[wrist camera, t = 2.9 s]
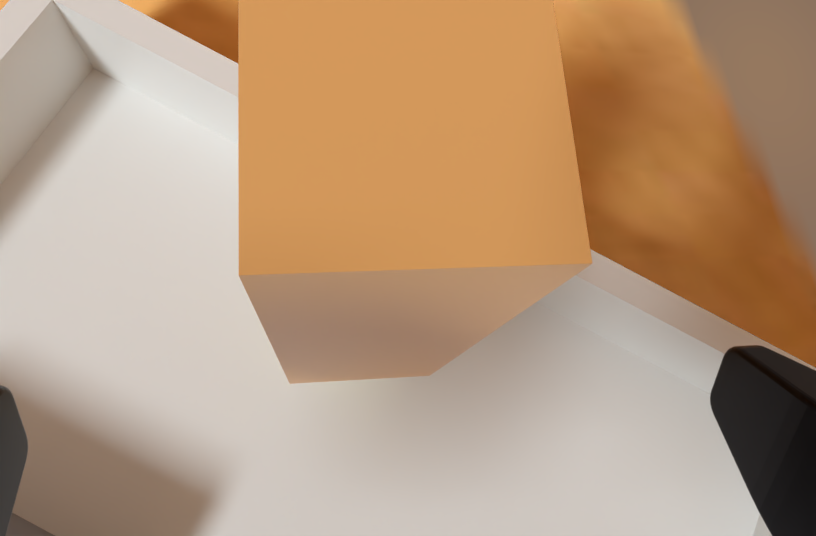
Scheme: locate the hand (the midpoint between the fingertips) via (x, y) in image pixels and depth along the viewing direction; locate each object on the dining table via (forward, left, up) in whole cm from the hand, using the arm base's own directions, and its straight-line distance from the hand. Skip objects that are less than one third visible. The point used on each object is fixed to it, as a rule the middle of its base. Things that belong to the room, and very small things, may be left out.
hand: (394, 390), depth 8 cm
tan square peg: (+1, -2, -9) cm, 10 cm away
